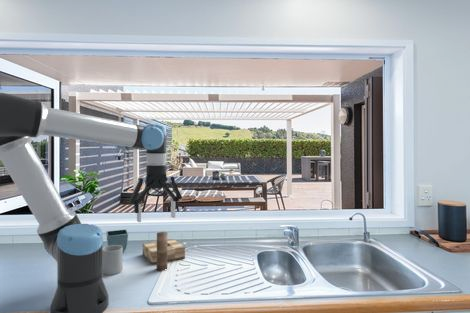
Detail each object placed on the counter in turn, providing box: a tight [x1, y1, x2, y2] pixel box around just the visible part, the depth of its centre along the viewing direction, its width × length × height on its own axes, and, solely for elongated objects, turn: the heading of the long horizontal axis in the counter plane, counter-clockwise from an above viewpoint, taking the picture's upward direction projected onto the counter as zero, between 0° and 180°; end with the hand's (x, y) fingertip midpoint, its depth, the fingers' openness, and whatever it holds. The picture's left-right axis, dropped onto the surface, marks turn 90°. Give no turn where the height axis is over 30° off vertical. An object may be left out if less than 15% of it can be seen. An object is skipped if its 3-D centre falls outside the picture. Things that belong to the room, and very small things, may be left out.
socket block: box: [142, 238, 186, 266], centre depth 134 cm, size 14×14×5 cm
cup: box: [102, 245, 124, 276], centre depth 118 cm, size 7×10×9 cm
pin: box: [156, 231, 168, 272], centre depth 120 cm, size 4×4×14 cm
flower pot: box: [105, 229, 129, 253], centre depth 139 cm, size 9×9×9 cm
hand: (156, 219), depth 120 cm, fingers open, 13 cm apart
